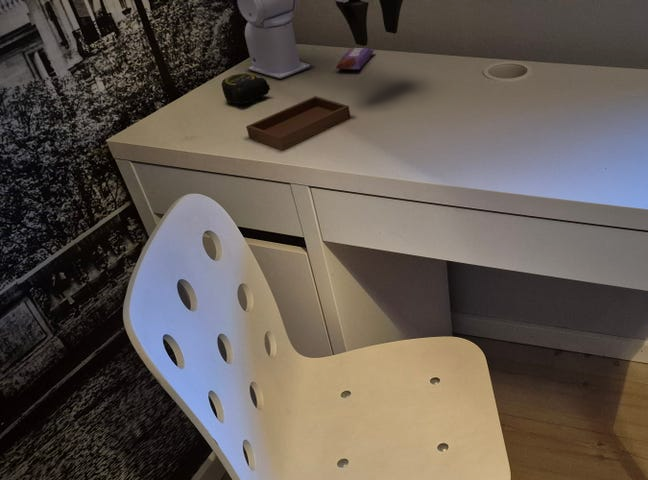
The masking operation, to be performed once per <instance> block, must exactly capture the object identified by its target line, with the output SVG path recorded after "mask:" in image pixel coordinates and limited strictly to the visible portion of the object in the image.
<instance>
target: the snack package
mask: <svg viewBox="0 0 648 480" xmlns="http://www.w3.org/2000/svg"><path fill="white" fill-rule="evenodd" d="M375 51H376V49H371V48H368V47H359V48H358V47H350V48H349V49H348V50H347V52H346V53H344V54H343V56H342V57H340V59H339V61H338V62H337V64H336V65H335V67H334V69H336V70H337V69H338V70H340V71H341V70H343V71H360V70H361V69H362V68H363V67H364V66H365V64H366V63H367V62H368V61H369V60H370V58H371V56H372V55H373V53H374V52H375Z"/></svg>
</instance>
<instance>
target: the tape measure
mask: <svg viewBox="0 0 648 480" xmlns="http://www.w3.org/2000/svg"><path fill="white" fill-rule="evenodd" d="M270 86H271V85H270V84H268V81H267V80H266V79H265V77H264V78H263V77H257V76H256V75H255V74H253V73H236V74H232V75H230V76H227V77H225V78H223V80H222V81H221V88H222V93H223V96H224V99H225V100H227V101H228V103H234V104H248V103H250V104H251V103H253V101H254V100H257V99H259V98H261V97H263V96H264V97H265V96H267V95H268V94H269V91H271V87H270Z"/></svg>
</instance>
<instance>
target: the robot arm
mask: <svg viewBox="0 0 648 480" xmlns="http://www.w3.org/2000/svg"><path fill="white" fill-rule="evenodd" d="M334 1H335V6H336V7H337V8H338V9H339V11H340V12H341V14H342V16H343V18H344V19H345V21H346V23H347V25H348V27H349V30H350V32H351V34H352V37H353V40H354V43H355V44H356V45H358V46H362V47H365V46H368V42H369V41H368V39H369V37H368V27H367V26H368V25H367V24H368V23H367V22H368V21H367V19H368V9H369V1H364V0H334ZM378 1H379V4H380V5H379V6H380V8H381V14H382V22H383V25H384V26H383V27H384V31H385V32H386V33H390V34H397V33H398V27H399V20H400V14H401V9H402V5H403V1H404V0H378ZM236 2H237V7H238V10H239V12H240V14H241V15H242V17H243V18H244V19H245V20H246V21H247V23H246V25H245V28H244V38H245V42H246V46H247V50H248V51H247V52H248V54H249V58H250V62H251V66H249V67H248V69H249V70H250V71H252V72H255V73H258V74H263V75H266V76H269V77H273V78H275V79H280V80H281V79H284V78H287V77H289V76H292V75H294V74H296V73H299V72H301V71H304V70H306V69H309V68H311V64H309V63H306V62H302V61H301V60H300V57H299V51H298V47H297V41H296V36H295V31H294V26H293V20H292V19H294V18H295V15H294V13H295V11H296V9H297V6H298V0H237V1H236Z"/></svg>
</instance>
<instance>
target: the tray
mask: <svg viewBox="0 0 648 480" xmlns="http://www.w3.org/2000/svg"><path fill="white" fill-rule="evenodd" d="M350 118H351V111H350V105H347V104H343V103H340V102H337V101H333V100H329V99H327V98H324V97H320V96H317V95H314V96H312V97H309V98H307V99H306V100H303V101H300V102H298V103H296V104H294V105H291V106H289V107H286V108H285V109H283V110H280V111H278V112H276V113H273V114H271V115H268V116H266V117H264V118H262V119H259V120H256V121H255V122H253V123H250V124H248V125H246V126H245V129H246V131H247V134H248V138H249V139H250V140H253V141H256V142H259V143H262V144H265V145H267V146H270V147H272V148H275V149H278V150H281V151H285V150H286V149H289V148H290V147H293V146H295V145H297V144H299V143H301V142H303V141H305V140H307V139H309V138H311V137H313V136H315V135H318V134H319V133H321V132H323V131H326V130H328V129H329V128H331V127H334V126H337V125H338V124H340V123H342V122H344V121H346V120H348V119H350Z"/></svg>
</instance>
